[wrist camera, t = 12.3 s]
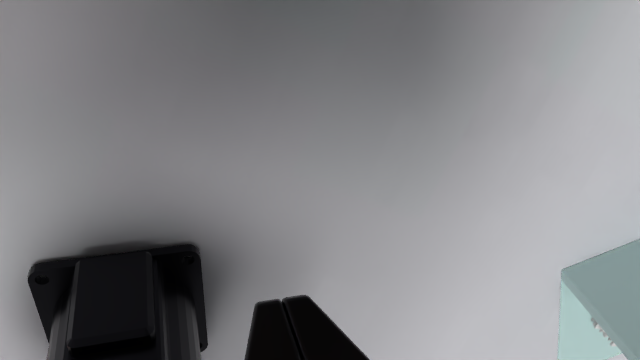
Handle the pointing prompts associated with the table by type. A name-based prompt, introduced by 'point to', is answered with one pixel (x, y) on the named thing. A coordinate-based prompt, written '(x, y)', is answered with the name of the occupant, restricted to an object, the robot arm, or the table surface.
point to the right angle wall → (601, 306)
